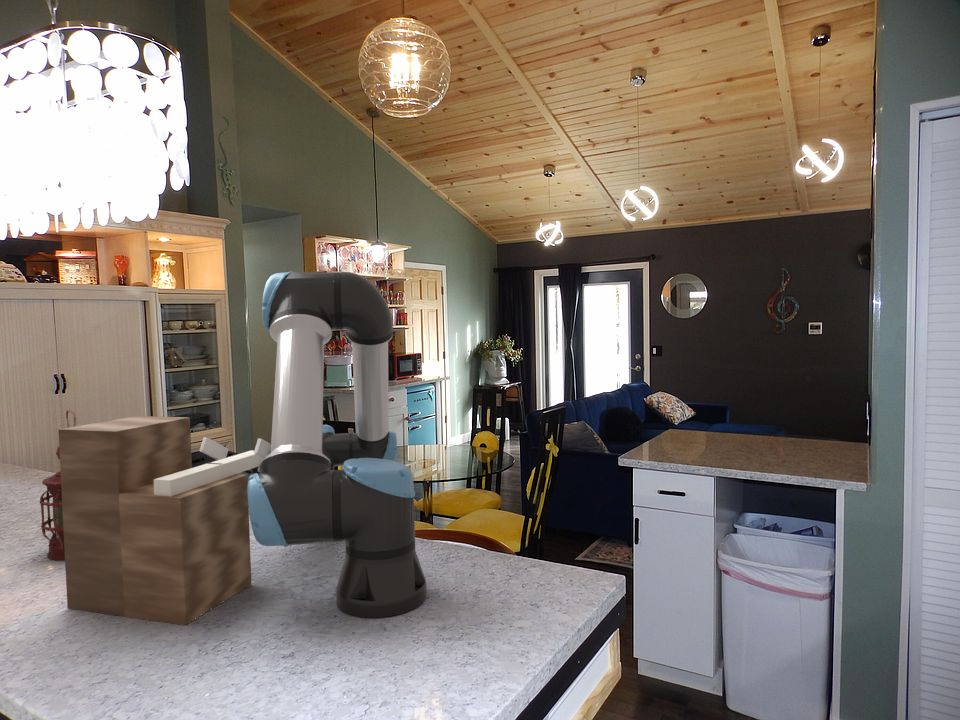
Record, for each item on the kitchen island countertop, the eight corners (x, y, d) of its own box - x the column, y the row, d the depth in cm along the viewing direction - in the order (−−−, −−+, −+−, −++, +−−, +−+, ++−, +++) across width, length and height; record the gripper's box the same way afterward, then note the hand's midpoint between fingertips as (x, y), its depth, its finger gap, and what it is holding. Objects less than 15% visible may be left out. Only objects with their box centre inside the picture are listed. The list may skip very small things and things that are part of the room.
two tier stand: (144, 571, 119) (137, 416, 118) (251, 584, 112) (245, 418, 111) (67, 608, 104) (58, 429, 102) (185, 625, 97) (177, 433, 95)
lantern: (118, 550, 131) (111, 409, 130) (48, 567, 123) (40, 415, 121) (102, 537, 140) (96, 404, 138) (37, 552, 131) (29, 410, 130)
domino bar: (251, 463, 121) (251, 449, 121) (265, 463, 120) (265, 450, 120) (154, 495, 98) (153, 478, 98) (170, 496, 97) (170, 479, 97)
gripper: (339, 499, 127) (279, 466, 108) (242, 494, 134) (171, 462, 116) (347, 464, 130) (290, 426, 112) (252, 460, 138) (184, 424, 119)
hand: (229, 444), depth 114 cm, fingers open, 11 cm apart
